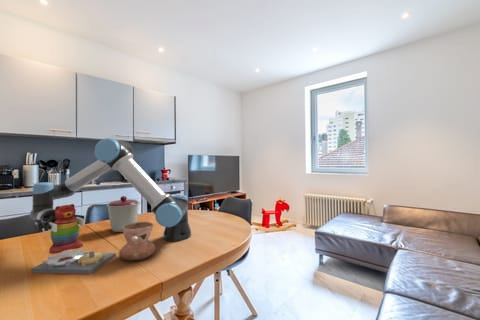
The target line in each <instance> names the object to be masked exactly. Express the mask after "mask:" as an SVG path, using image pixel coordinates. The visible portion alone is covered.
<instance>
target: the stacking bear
mask: <svg viewBox="0 0 480 320" xmlns="http://www.w3.org/2000/svg"><path fill="white" fill-rule="evenodd" d="M54 210H56V211H55V216H56V218H57V220H56V221H55V222H54V224H57V232H53V231H51V230H50V239H51V241H52V245H51V246H50V247H49V249H48V250H49V251H48V252H49V254H50V255H57V254H60V253H63V252H64V251H71V250H78V249H81V248H83V247H84V243H83V241H81V240H79V239H78V238H79V235H80V225H78V222H77V220H76V218H75V217H74V215H76V213H77V212H76V211H77V209H76V208H75V204H73V203H70V204H64V205H61V206H60V205H58V206H55V207H54Z"/></svg>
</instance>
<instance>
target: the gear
mask: <svg viewBox="0 0 480 320" xmlns="http://www.w3.org/2000/svg"><path fill="white" fill-rule="evenodd" d="M88 253H89V251H88V250H85V251H83V249H81V248H77V249H75V250H66V251H63V252H60V253H56V254H50V255H49V256H48V257H47V260H43V261H42V263H43V266H48V269H53V268H55V267H62V266H65V267H67V266H70V264H73V263H76V262H78V259H79V258H82V257H84V256H85V255H86V254H88Z"/></svg>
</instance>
